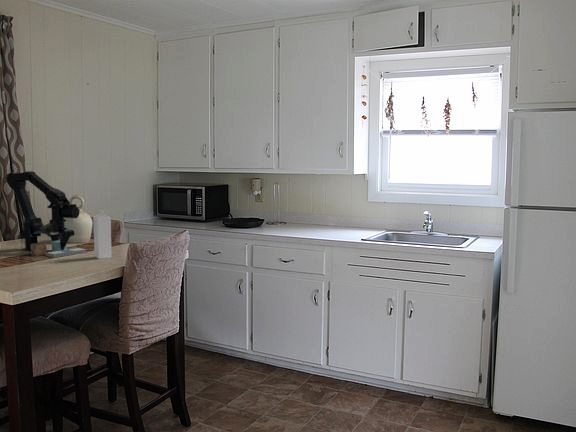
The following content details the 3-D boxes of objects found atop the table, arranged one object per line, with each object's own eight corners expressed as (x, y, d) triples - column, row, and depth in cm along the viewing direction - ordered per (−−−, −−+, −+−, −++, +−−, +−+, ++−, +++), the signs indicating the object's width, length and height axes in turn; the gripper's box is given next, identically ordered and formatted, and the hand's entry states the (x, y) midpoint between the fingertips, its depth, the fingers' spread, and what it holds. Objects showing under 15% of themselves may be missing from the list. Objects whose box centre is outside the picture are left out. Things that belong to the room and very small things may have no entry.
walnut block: (31, 254, 272) (30, 244, 271) (41, 253, 276) (40, 242, 275) (36, 255, 269) (36, 245, 268) (46, 254, 273) (46, 243, 272)
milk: (98, 259, 261) (97, 211, 259) (94, 257, 266) (92, 210, 263) (111, 257, 265) (110, 210, 262) (107, 255, 270) (105, 209, 267)
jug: (87, 243, 303) (85, 196, 300) (57, 243, 303) (56, 196, 300) (97, 239, 318) (95, 194, 315) (69, 238, 318) (67, 194, 315)
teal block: (51, 251, 280) (51, 241, 279) (61, 250, 284) (60, 240, 283) (57, 252, 277) (57, 242, 276) (66, 251, 281) (66, 241, 280)
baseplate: (45, 255, 268) (45, 252, 268) (78, 250, 281) (78, 247, 281) (54, 257, 264) (53, 254, 264) (86, 252, 277) (86, 249, 277)
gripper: (32, 217, 278) (33, 249, 279) (53, 220, 266) (54, 253, 268) (53, 215, 286) (54, 246, 288) (74, 218, 275) (75, 250, 277)
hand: (59, 249), depth 280 cm, fingers open, 6 cm apart
